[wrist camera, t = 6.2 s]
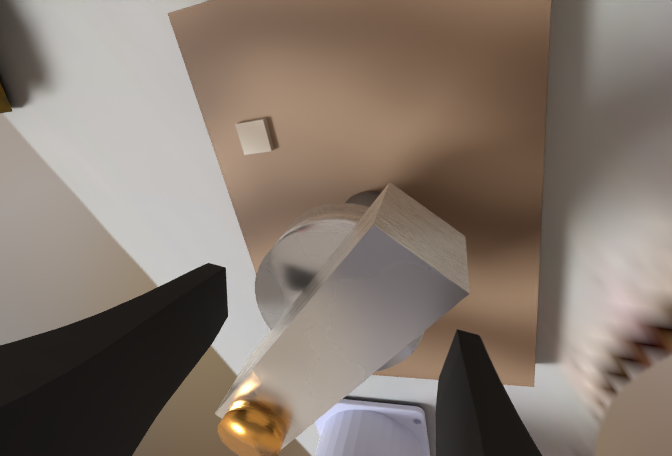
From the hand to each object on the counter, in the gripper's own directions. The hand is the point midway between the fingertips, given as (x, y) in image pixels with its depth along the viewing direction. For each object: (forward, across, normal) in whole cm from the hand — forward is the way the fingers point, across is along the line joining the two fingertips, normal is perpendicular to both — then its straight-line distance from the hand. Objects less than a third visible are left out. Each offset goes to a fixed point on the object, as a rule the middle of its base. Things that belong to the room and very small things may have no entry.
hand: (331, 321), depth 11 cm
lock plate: (+8, 0, 0) cm, 8 cm away
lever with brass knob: (+3, 0, 0) cm, 3 cm away
